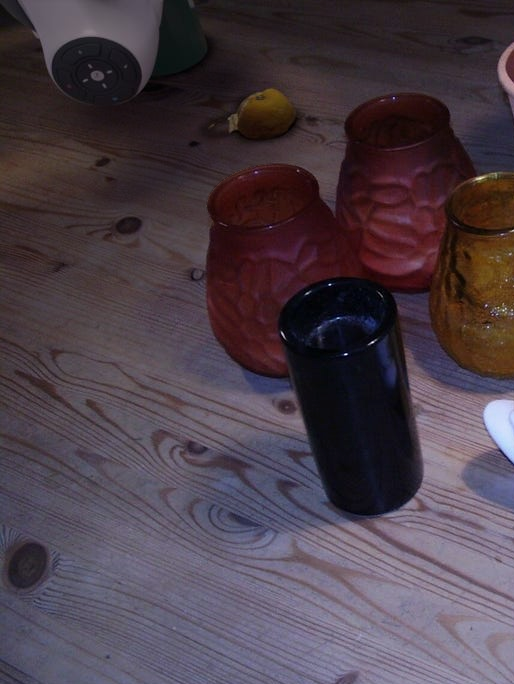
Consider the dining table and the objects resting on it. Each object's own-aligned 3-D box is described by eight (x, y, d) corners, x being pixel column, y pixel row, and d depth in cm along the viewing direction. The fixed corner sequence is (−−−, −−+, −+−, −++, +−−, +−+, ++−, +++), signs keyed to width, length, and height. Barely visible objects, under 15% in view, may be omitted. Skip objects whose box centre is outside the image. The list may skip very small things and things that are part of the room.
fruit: (259, 96, 104) (249, 64, 102) (318, 114, 100) (310, 82, 98) (202, 136, 100) (191, 104, 97) (262, 157, 96) (252, 124, 93)
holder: (122, 85, 109) (87, -3, 102) (139, 45, 115) (107, -40, 108) (201, 76, 108) (172, -13, 101) (214, 37, 115) (187, -49, 108)
